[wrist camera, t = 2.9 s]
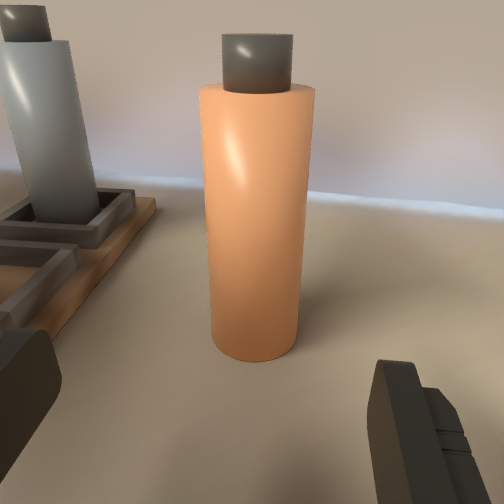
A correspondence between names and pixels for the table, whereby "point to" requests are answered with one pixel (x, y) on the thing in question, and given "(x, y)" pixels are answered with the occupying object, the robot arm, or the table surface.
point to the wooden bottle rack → (61, 259)
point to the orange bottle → (255, 194)
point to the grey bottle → (46, 118)
